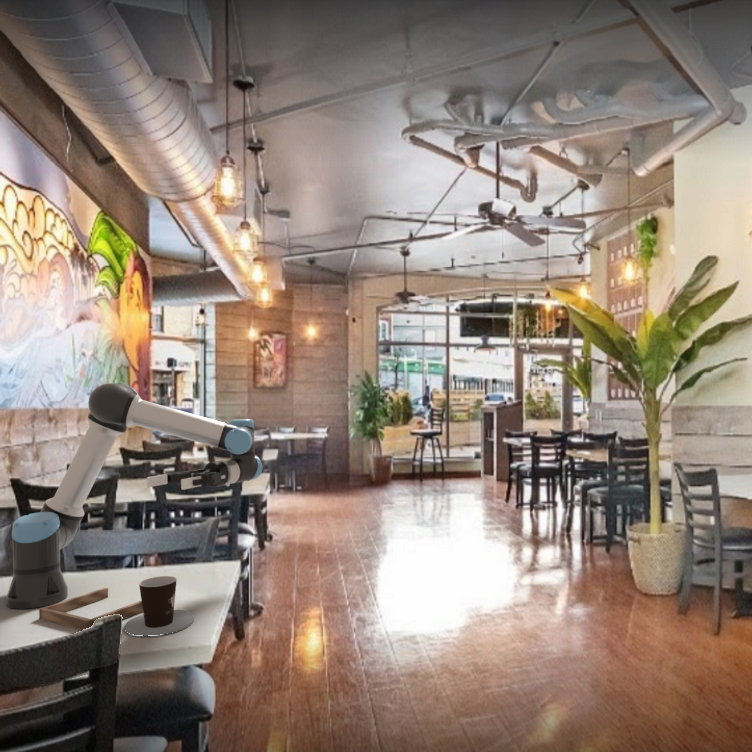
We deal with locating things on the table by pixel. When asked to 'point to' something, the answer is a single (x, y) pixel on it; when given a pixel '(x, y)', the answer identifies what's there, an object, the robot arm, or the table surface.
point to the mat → (179, 622)
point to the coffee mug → (158, 600)
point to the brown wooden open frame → (57, 610)
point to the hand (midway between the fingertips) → (164, 483)
